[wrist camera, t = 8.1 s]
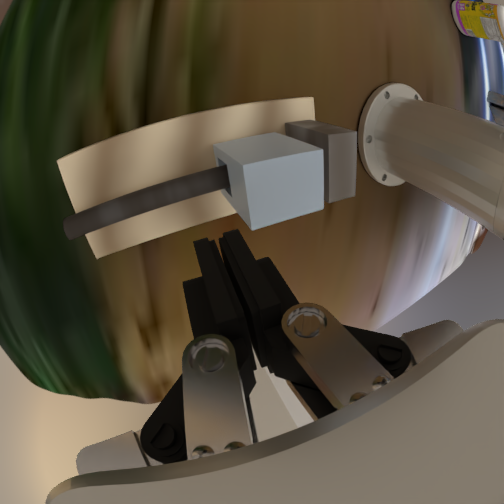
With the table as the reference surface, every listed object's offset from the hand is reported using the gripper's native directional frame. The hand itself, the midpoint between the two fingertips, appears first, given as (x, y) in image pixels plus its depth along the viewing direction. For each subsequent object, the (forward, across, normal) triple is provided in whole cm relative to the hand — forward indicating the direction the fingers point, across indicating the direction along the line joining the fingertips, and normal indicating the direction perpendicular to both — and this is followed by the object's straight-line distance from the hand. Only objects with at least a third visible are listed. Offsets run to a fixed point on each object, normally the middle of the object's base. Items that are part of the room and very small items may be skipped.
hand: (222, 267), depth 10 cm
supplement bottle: (+16, -43, -21) cm, 51 cm away
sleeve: (+12, -5, 0) cm, 13 cm away
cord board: (+13, -1, 0) cm, 13 cm away
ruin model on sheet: (+17, -60, -5) cm, 63 cm away
